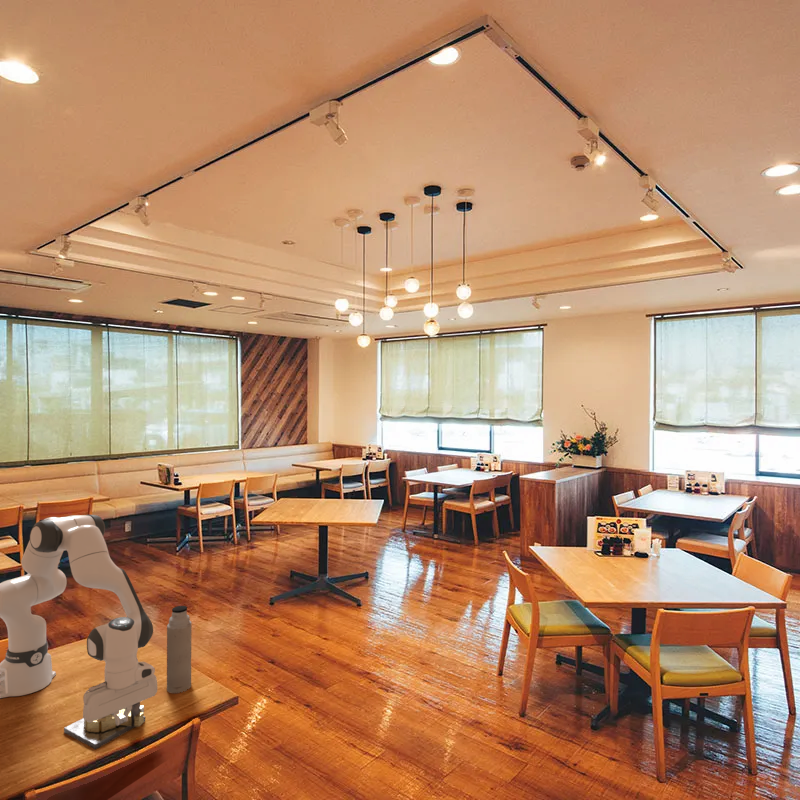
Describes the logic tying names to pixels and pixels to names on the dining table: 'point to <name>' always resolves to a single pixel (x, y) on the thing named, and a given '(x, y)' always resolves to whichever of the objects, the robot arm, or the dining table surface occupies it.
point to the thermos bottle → (179, 651)
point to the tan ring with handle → (109, 721)
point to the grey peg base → (96, 733)
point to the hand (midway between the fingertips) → (121, 722)
